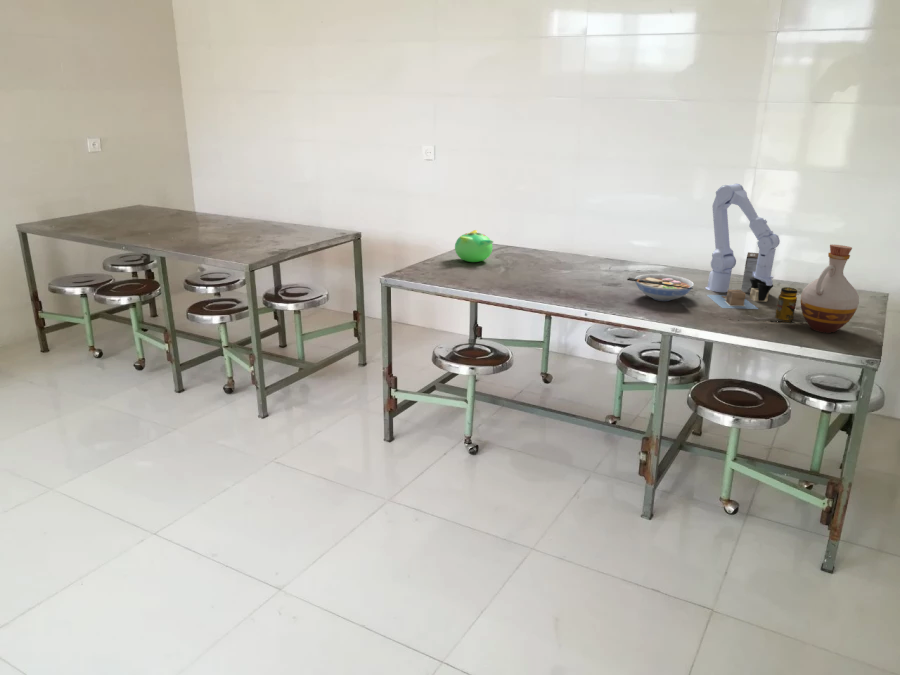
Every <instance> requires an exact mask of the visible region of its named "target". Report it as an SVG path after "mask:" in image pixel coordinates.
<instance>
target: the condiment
mask: <svg viewBox="0 0 900 675" xmlns="http://www.w3.org/2000/svg"><path fill="white" fill-rule="evenodd" d="M797 294H798V290H797V288H794V287H786V286H785V287H782V288H781V290H780V294H779V295H778V298H777V305H776V309H775V313H774V317H775V318H776V319H778V320H771V319H770V322H771V323H780V324H781V323H782V324H792V323H794V324H793V325H795V324H796V322H795V321H794V322H792V321H793V319H794V316H795V310H796V305H797V300H798V297H797ZM777 321H778V322H777Z"/></svg>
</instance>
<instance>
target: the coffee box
mask: <svg viewBox="0 0 900 675" xmlns="http://www.w3.org/2000/svg"><path fill="white" fill-rule="evenodd" d="M746 254H747V255H746V259H745V265H744V271H743V275H742V276H743V277H742V283H741V288H740V290H742V291H743V292H745V293H748V294H750V292H751V288H752V284H751V281H750V279H751V278H754V277H753V276H752V273H753V272H755V271H756V265H757V260H758V254H759V252H758V253H757V252H749V251H748V252H747V253H746Z"/></svg>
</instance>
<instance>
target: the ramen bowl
mask: <svg viewBox="0 0 900 675" xmlns="http://www.w3.org/2000/svg"><path fill="white" fill-rule="evenodd" d="M626 280H627V281H631V282H635V284H636V286H637V287H638V289H639V291H640V292H641V293H643V295H645V296H647V297H649V298H651V299H653V300H655V301H658V302H659V301H660V302H669V301H670V302H671V301H673V300H677V299H680V298H683V297H684V296H686V295H687V294H688V293H690V291H691V290H693V289H694V285H695V284H694V282H693V281H692V280H690V279H688V278H685V277H682V276H677V275H673V274H672V275H671V274H661V273H649V274H648V273H647V274H641V275H640V274H639V275H637V276H635V278H633V277H628V278H627V279H626Z"/></svg>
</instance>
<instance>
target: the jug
mask: <svg viewBox="0 0 900 675" xmlns="http://www.w3.org/2000/svg"><path fill="white" fill-rule="evenodd" d="M852 249H853V246H852V247H851V246H848V245H842V244H830V245H829V252H828V257H829V258H828V260H829V261H828V266H826V267H825V268H824V269H823V270H822V272H821V274H820V275H819V277H818V278H817V279H814V280H813V281H811V282H810V283H808V284H807V285H806V286H805V287H804V288H803V289H802V291H801V293H800V294H801V295H800V309H801V314H802V316H803V319H804V320H805V321H806V323H807V324H808V326H809V327H810V329H811V330H814V331H816V332H820V333H825V332H826V333H827V334H831V332H833V333H835V332H837V331H839V330H840V329H841V328H842V327H844V326H845V325H846V324H848V323H849V322H851V321H850V320H851V319H852V318H853V316H854V314H856V311H857V310H858V306H859V304H860V296H859V293H858V291H857V290H856V288H855V287H854V286H853V285H852V284H851V283H850V281H849V280H848V279H847V277H846V276H845V275H844V270H845V266H846V264H847V261H848V260H849V259H850V257H851V255H850V254H851V252H852Z"/></svg>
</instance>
